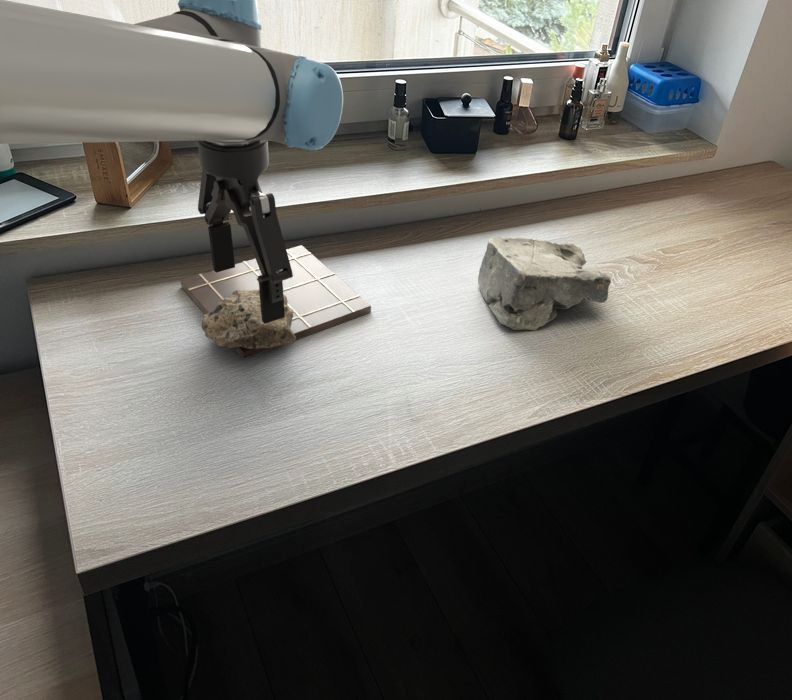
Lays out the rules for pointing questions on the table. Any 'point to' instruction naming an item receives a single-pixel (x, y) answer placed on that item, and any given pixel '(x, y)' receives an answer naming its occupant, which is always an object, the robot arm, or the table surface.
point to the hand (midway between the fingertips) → (247, 293)
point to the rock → (246, 323)
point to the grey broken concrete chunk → (536, 280)
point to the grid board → (306, 294)
